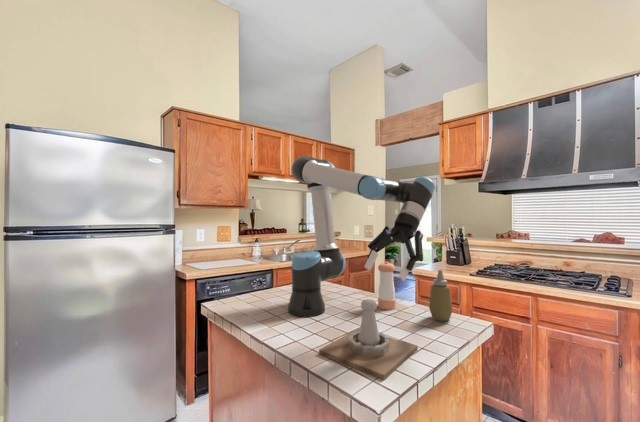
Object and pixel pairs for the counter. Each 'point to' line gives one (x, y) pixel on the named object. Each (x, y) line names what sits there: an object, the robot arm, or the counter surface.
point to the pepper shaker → (386, 287)
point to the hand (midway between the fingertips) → (383, 273)
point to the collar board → (370, 362)
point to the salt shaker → (369, 324)
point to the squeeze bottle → (440, 299)
